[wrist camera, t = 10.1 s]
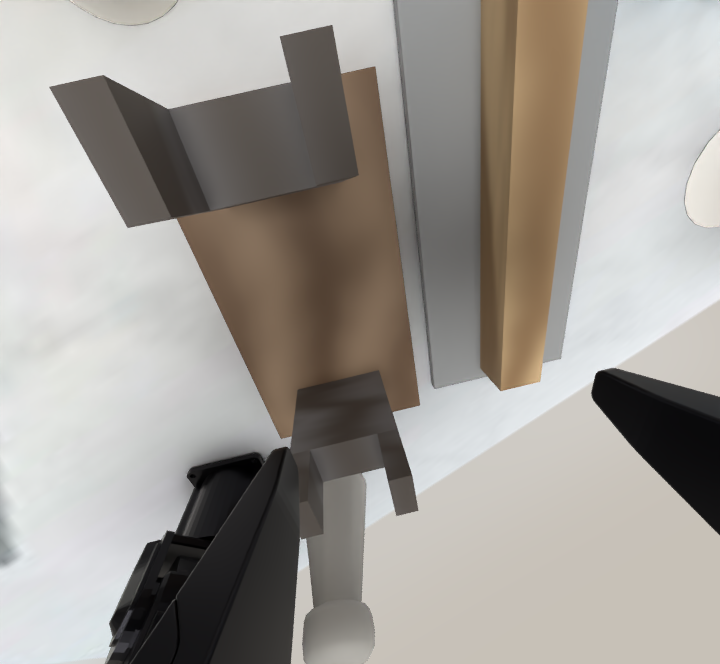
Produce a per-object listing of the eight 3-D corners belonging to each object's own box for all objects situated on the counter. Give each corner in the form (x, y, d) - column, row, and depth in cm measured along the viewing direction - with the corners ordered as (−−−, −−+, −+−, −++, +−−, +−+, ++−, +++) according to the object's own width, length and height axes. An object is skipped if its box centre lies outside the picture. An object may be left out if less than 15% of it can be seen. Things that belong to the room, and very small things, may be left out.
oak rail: (480, 368, 23) (500, 391, 21) (480, -13, 13) (521, -65, 10) (515, 359, 23) (540, 381, 21) (542, -27, 13) (598, -81, 11)
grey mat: (432, 384, 24) (434, 388, 24) (391, -16, 13) (394, -25, 13) (555, 355, 24) (560, 358, 24) (618, -66, 13) (630, -76, 13)
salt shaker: (371, 449, 27) (407, 644, 15) (351, 488, 29) (370, 683, 18) (311, 440, 26) (302, 647, 14) (295, 481, 28) (276, 689, 16)
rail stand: (282, 429, 25) (260, 565, 16) (142, 124, 14) (-148, 20, 5) (416, 397, 25) (469, 513, 16) (371, 73, 15) (450, -107, 6)
